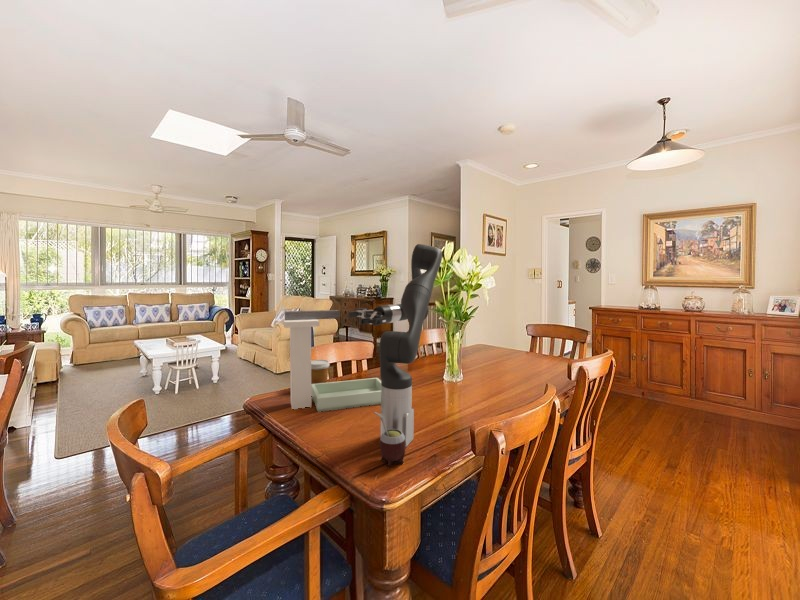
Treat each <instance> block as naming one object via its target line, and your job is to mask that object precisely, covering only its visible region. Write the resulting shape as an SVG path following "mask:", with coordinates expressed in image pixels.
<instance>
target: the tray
mask: <svg viewBox="0 0 800 600" xmlns="http://www.w3.org/2000/svg"><path fill="white" fill-rule="evenodd" d="M311 396H312V397H311V400H312V402H313V401H314V402H313V403H315V404H314V406H316V407H315V409H316V411H318V412H317V413H322V412H321V411H323V412H329V410H331V411H339V410H345V409H346V408H347V409H353V407H354V408H361V407H360V406H362V407H368V406H369V405H370V406H375V405H377V406H378V405H381V378H379V377H371V378H370V377H369V378H361V379H360V378H359V379H351V380H341V381H329V382H328V381H327V383H317V384H311ZM338 409H339V410H338Z"/></svg>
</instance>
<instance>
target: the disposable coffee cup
mask: <svg viewBox="0 0 800 600" xmlns="http://www.w3.org/2000/svg"><path fill="white" fill-rule="evenodd" d="M330 366H331V364H330V361H329V360H326V359H313V360H312V359H311V384H317V383H327V382H328V375H329V368H330Z"/></svg>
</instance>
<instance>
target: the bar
mask: <svg viewBox="0 0 800 600" xmlns="http://www.w3.org/2000/svg"><path fill="white" fill-rule="evenodd" d="M340 316H341V315H340V310H339V309H326V310H323V309H321V310H290V311H289V310H287V311H286V310H285V311H284V318H285V320H309V319H318V320H327V319H328V320H332V319H333V320H336V319H340V318H341V317H340Z"/></svg>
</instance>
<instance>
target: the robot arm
mask: <svg viewBox="0 0 800 600" xmlns="http://www.w3.org/2000/svg"><path fill="white" fill-rule="evenodd" d="M442 260H443V251H442V249H441V248H439V247H436V246H431V245H427V244H421V243H417V244H416V245H415V246H414V247H413V251H412V254H411V261H410V266H411V267H410V268H411V280H410V281H409V282H408V283H407V284H406V286H405V288H404V290H403V294H402V297H401V300H400V303H399V304H397V303H396V304H384V305H377V306H376V307H375V308H374V309H369V308H368V307H360V308H358V307H357V308H355V309H354V310H353V311H349V312H347V313H348V314H347V315H348V318H356V317H357V318H359V325H372V326H374V327H375V326H381V325H385V324H390V323H391V324H392V323H396V322H401V321H405V320H407V322H408V325H409V329H408V330H407V331H394V330H393V331H391V330H385V331H384V332H383V333H382V334H381V335H380V336H381V337H380V341H379V367H380V368H379V370H380V371H379V373H380V375H379V377H380V380H381V404H380V415H381V416H382V417H383V418H384V423H385V426H386V429H387V430H388V429H397V430H400V431H401V432H402V433H403V434H404V436H405V441H406V448H407V447H408V445H409V444H411V442H412V441H413V440H414V433H415V432H414V429H415V428H414V427H415V423H414V422H415V421H414V419H415V418H414V417H415V416H414V415H415V409H414V408H413V407H412V405H413V404H412V402H413V401H412V400H413V399H412V396H413V393H412V392H413V389H412V388H413V378H412V375H411V374H410V373H408V371H407V372H406V371H404V370H403V369H402V368H400V367H399V366H398V365H397V364H407V365H409V364H412V363H414V361H415V360H416V358H417V355H418V352H419V351H418V350H419V346H420V341H421V335H422V329H423V326H424V321H425V320H426V319H427V318H428V315H429V305H430V304H429V303H430V300H431V297H432V293H433V288H434V284H435V280H436V277H437V275H438V272H439V269H440V266H441V264H442ZM422 270H423V271H424V272H423V273H422ZM384 431H385V429H384V426H383V423H382V421H381V420H380V436H381V435H382V434H383V432H384Z"/></svg>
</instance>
